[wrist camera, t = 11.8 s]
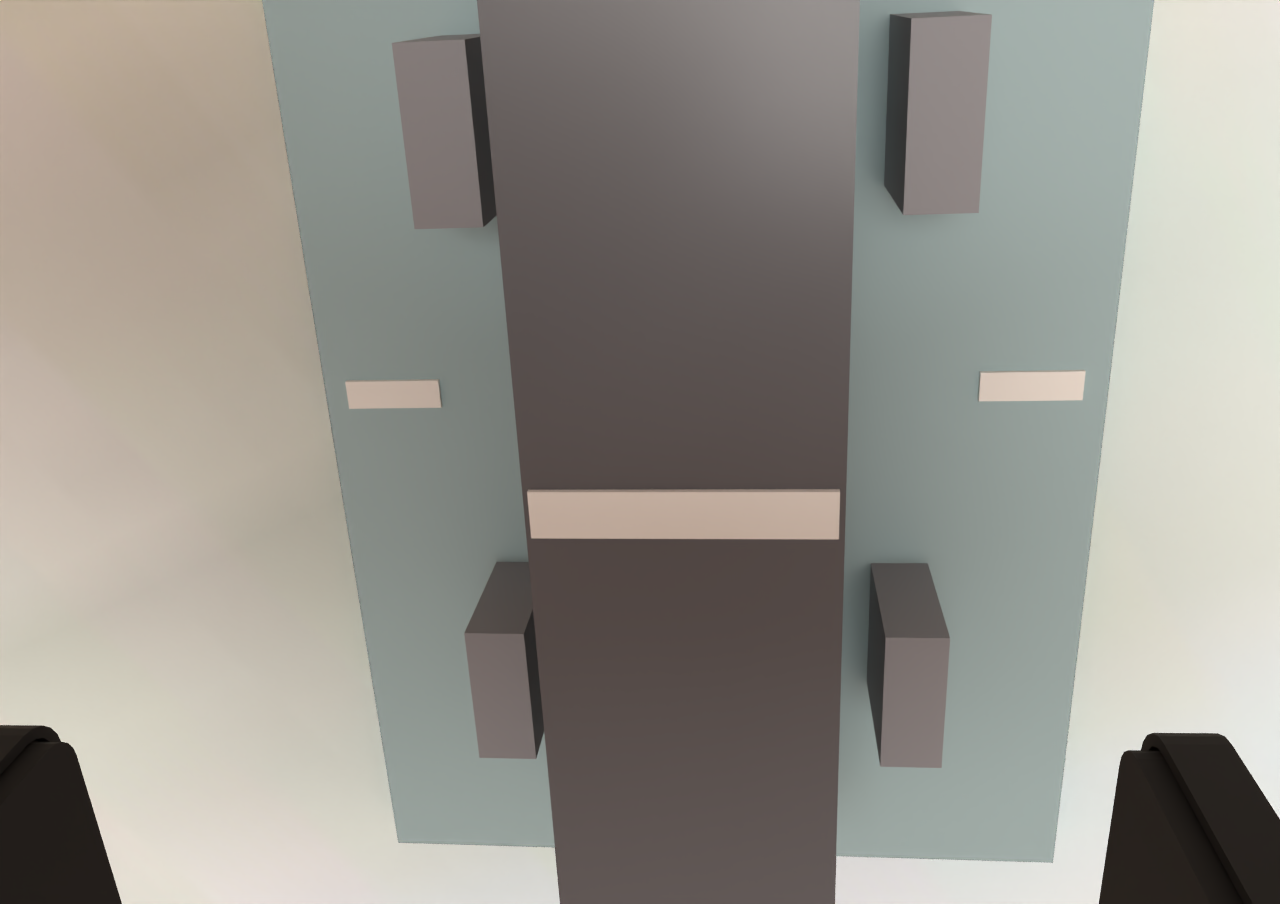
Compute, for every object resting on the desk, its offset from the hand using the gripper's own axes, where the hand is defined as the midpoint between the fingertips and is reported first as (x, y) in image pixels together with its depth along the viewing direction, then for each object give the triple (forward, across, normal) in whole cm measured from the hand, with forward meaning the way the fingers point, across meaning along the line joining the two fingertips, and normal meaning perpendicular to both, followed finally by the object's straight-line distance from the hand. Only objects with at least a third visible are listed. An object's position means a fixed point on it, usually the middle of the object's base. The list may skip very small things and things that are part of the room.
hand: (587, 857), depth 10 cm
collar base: (+15, -1, +1) cm, 15 cm away
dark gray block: (+14, -1, +1) cm, 14 cm away
